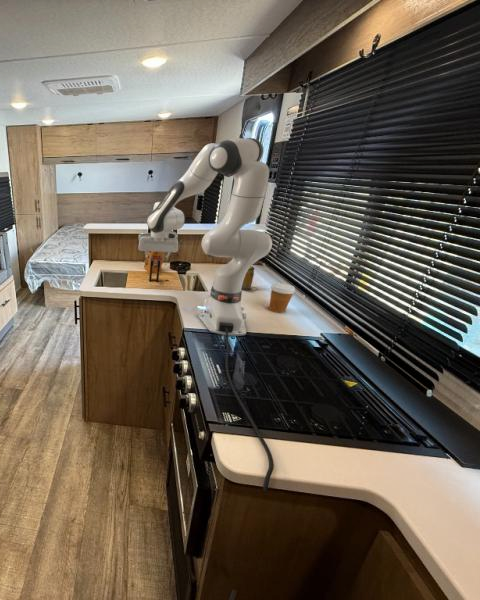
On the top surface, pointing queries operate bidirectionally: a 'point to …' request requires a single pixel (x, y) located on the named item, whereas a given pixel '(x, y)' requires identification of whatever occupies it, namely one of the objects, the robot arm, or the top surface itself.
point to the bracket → (157, 270)
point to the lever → (156, 260)
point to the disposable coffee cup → (280, 296)
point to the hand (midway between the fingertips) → (156, 259)
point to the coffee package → (153, 254)
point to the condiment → (248, 280)
